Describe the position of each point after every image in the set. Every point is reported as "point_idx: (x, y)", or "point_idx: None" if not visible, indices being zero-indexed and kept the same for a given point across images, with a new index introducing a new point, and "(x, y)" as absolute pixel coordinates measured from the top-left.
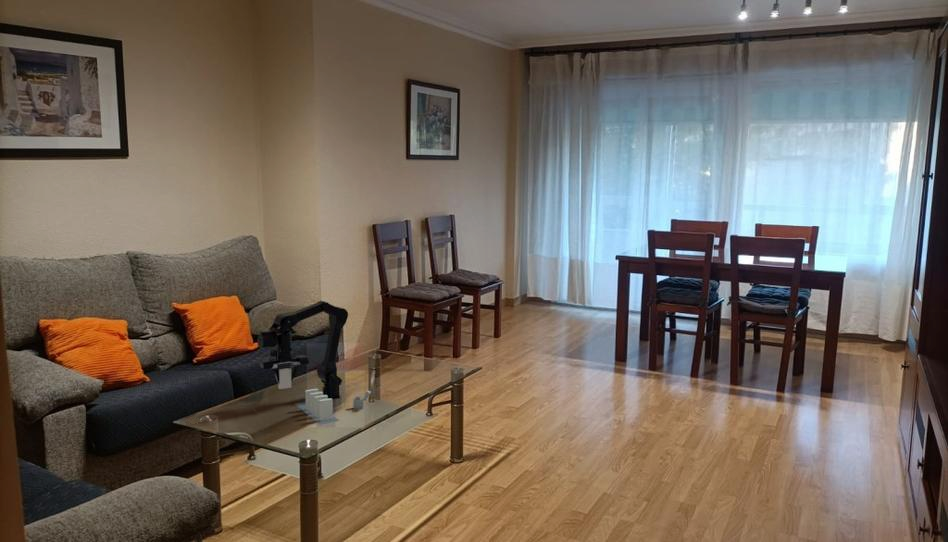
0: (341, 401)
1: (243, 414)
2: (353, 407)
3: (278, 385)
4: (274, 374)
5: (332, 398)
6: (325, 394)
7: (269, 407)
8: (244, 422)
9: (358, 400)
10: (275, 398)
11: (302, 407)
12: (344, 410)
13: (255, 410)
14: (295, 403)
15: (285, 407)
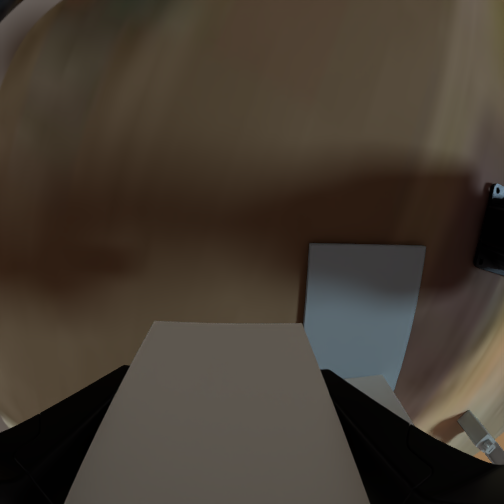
0: (498, 313)
1: (10, 267)
2: (461, 425)
3: (146, 347)
4: (30, 431)
5: (497, 273)
6: (497, 252)
7: (140, 215)
8: (22, 371)
9: (479, 448)
10: (242, 37)
11: (319, 345)
12: (434, 423)
13: (59, 232)
14: (318, 245)
15: (234, 271)
